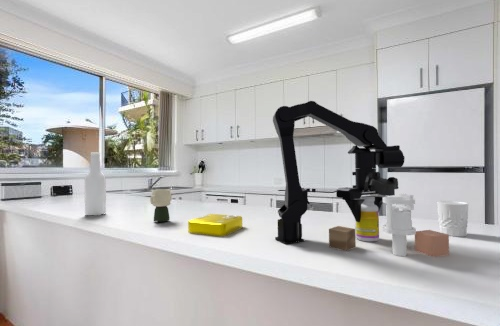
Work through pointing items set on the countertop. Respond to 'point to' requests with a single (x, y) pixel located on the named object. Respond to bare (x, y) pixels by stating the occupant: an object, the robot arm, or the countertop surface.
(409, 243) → the countertop surface
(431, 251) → the terracotta block
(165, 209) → the cream and green figurine
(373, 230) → the supplement bottle
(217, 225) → the element tile
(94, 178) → the alcohol
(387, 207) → the white stepped column
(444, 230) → the white cup
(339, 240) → the walnut block
